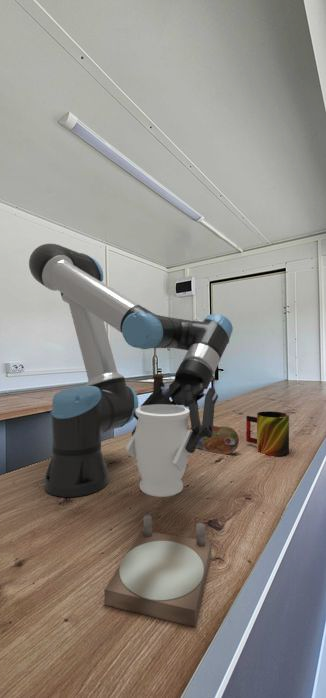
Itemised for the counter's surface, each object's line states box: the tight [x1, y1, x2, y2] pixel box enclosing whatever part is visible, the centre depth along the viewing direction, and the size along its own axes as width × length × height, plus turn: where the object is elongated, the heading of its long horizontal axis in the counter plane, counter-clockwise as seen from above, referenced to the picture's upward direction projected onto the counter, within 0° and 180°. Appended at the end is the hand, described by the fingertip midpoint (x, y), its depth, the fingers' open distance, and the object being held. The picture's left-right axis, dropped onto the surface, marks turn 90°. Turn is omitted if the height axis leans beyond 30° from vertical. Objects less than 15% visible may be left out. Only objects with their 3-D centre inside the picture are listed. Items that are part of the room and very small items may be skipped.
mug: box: [245, 410, 290, 458], centre depth 103 cm, size 10×14×12 cm
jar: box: [135, 404, 190, 498], centre depth 60 cm, size 11×10×15 cm
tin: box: [197, 424, 240, 455], centre depth 103 cm, size 15×3×8 cm, turn 56°
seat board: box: [103, 514, 212, 628], centre depth 47 cm, size 12×14×5 cm
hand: (152, 459), depth 58 cm, fingers closed on jar, 10 cm apart
